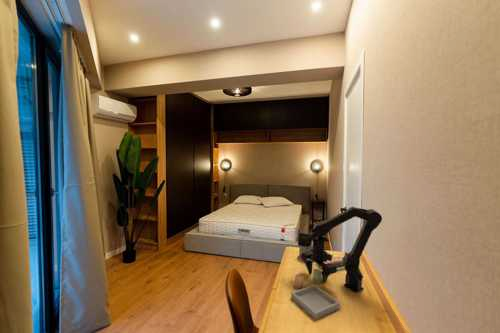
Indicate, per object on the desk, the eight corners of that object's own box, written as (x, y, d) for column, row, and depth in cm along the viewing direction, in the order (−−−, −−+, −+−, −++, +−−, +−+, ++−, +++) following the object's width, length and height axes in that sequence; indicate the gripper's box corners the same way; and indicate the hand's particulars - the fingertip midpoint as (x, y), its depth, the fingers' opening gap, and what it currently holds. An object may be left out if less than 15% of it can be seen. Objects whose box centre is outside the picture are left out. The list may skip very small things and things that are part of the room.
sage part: (322, 281, 106) (323, 272, 106) (317, 283, 104) (317, 273, 104) (316, 277, 110) (317, 268, 109) (311, 279, 108) (311, 270, 107)
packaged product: (327, 265, 114) (315, 257, 123) (327, 274, 114) (315, 265, 124) (352, 260, 121) (339, 253, 130) (352, 269, 121) (339, 261, 130)
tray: (339, 308, 87) (340, 302, 87) (315, 320, 80) (315, 313, 80) (314, 289, 99) (314, 284, 99) (291, 298, 92) (291, 292, 92)
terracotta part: (304, 288, 100) (305, 277, 100) (298, 290, 98) (299, 279, 98) (299, 283, 104) (299, 273, 103) (292, 285, 102) (293, 275, 102)
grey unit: (321, 257, 133) (322, 243, 132) (304, 262, 125) (304, 247, 125) (314, 253, 138) (315, 240, 138) (297, 258, 131) (297, 243, 130)
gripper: (345, 253, 102) (343, 284, 103) (316, 239, 118) (314, 266, 119) (329, 257, 97) (327, 290, 97) (301, 242, 113) (299, 271, 113)
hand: (317, 278), depth 107 cm, fingers open, 9 cm apart
